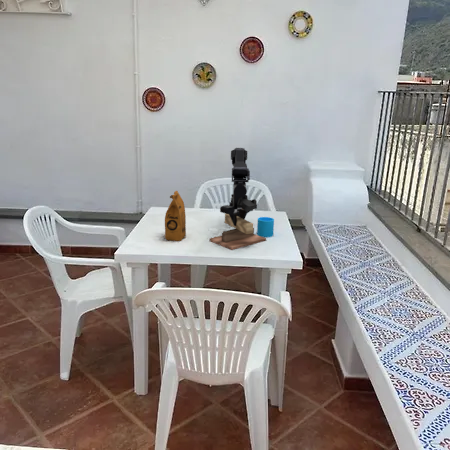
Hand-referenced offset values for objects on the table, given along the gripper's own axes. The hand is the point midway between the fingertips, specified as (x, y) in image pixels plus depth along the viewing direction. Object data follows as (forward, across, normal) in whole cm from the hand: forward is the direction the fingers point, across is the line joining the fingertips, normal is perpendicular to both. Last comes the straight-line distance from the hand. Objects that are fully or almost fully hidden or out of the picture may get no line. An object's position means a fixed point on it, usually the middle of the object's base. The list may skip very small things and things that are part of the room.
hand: (238, 225), depth 209 cm
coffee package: (+8, -21, +22) cm, 31 cm away
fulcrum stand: (+8, 0, 0) cm, 8 cm away
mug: (+8, +19, 0) cm, 21 cm away
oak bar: (+1, 0, 0) cm, 1 cm away
